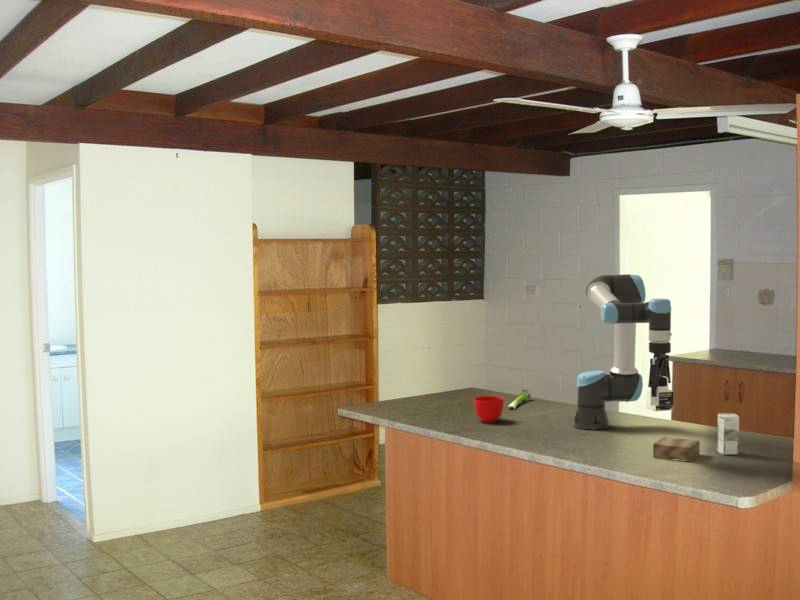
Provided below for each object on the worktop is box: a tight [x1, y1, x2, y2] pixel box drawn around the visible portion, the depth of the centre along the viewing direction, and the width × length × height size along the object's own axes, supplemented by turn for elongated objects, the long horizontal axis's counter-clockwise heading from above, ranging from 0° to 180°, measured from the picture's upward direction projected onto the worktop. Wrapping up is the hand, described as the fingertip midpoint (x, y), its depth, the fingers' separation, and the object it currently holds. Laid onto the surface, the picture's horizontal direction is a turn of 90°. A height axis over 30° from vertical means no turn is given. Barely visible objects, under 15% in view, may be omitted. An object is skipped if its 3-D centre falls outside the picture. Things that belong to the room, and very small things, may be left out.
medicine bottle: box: [645, 376, 674, 412], centre depth 307 cm, size 7×7×12 cm
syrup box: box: [716, 412, 740, 456], centre depth 312 cm, size 6×6×14 cm
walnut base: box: [652, 436, 701, 462], centre depth 309 cm, size 13×13×5 cm
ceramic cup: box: [473, 395, 505, 423], centre depth 378 cm, size 13×17×10 cm
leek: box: [506, 388, 532, 410], centre depth 415 cm, size 6×7×30 cm
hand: (659, 403), depth 307 cm, fingers closed on medicine bottle, 10 cm apart
